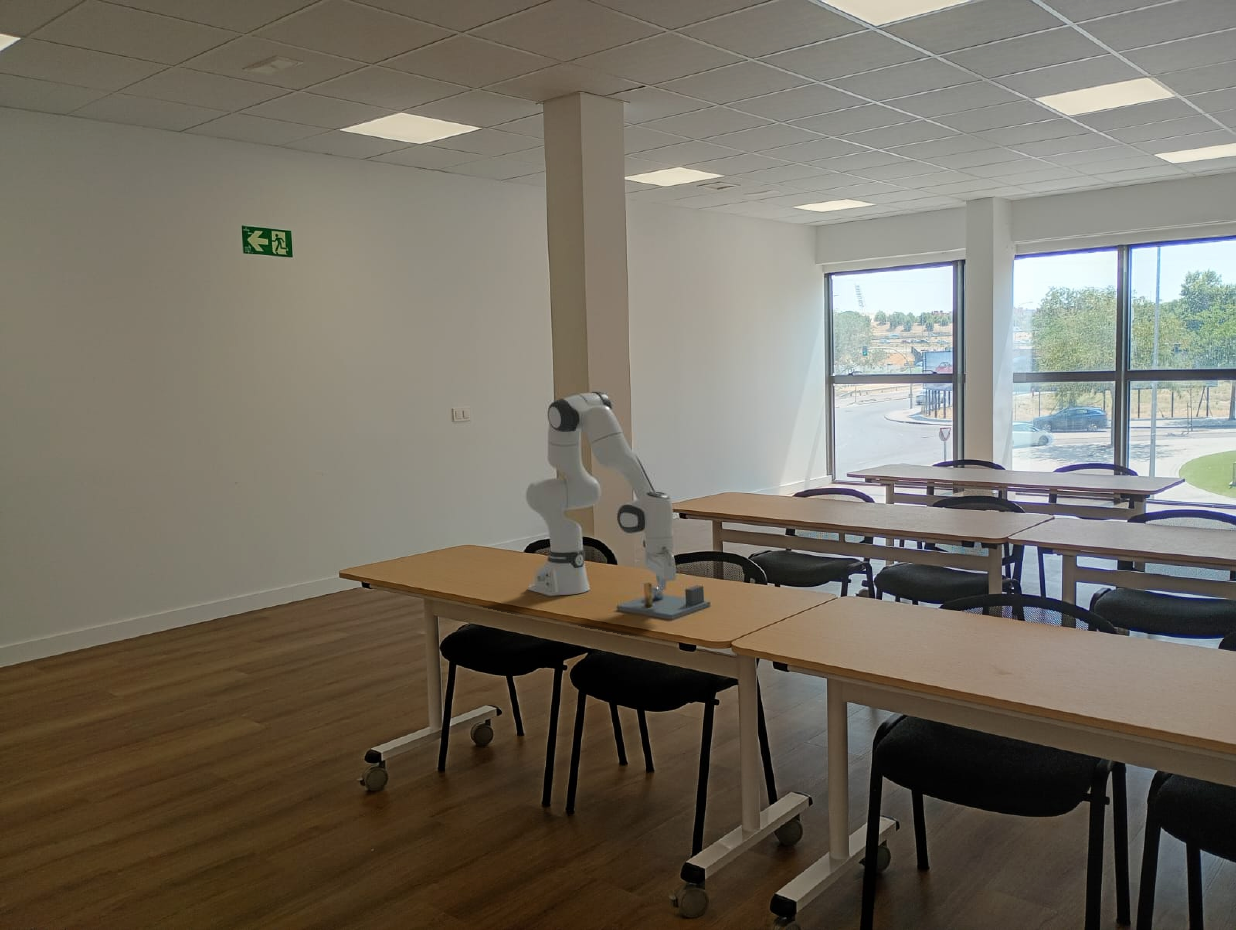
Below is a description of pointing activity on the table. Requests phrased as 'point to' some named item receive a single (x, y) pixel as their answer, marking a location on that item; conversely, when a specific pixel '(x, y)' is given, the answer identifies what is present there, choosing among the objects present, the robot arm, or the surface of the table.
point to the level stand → (669, 605)
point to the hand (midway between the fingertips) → (661, 589)
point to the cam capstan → (651, 594)
